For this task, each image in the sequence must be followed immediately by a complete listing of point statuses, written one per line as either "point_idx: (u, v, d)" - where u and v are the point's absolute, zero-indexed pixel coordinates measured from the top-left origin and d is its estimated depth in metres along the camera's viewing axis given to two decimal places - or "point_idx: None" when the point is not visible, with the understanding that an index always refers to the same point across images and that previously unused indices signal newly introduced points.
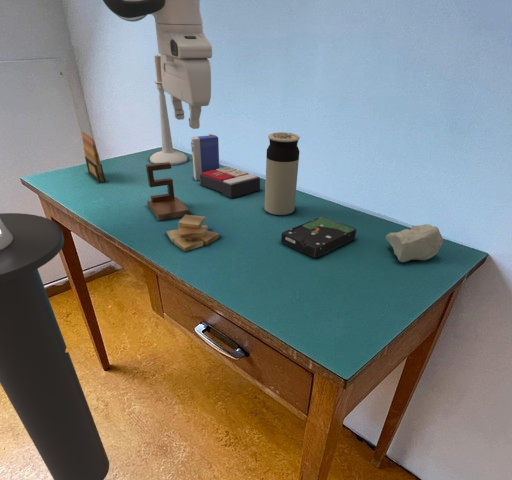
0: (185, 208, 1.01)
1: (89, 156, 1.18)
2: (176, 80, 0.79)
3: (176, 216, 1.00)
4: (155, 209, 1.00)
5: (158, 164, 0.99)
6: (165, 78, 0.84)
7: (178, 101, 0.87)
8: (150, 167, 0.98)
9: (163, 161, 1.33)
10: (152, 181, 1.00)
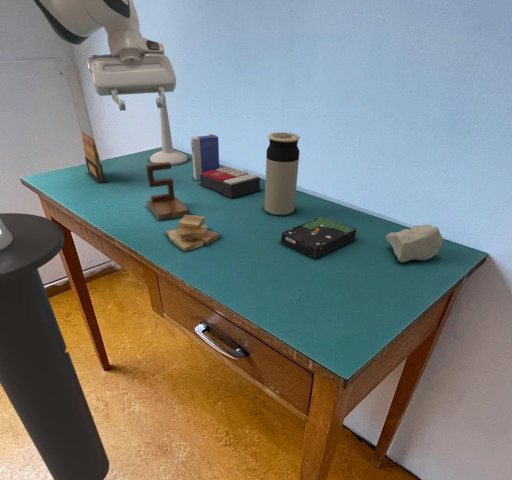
0: (185, 208, 1.01)
1: (89, 156, 1.18)
2: (138, 72, 0.99)
3: (176, 216, 1.00)
4: (155, 209, 1.00)
5: (158, 164, 0.99)
6: (107, 74, 0.97)
7: None
8: (150, 167, 0.98)
9: (163, 161, 1.33)
10: (152, 181, 1.00)
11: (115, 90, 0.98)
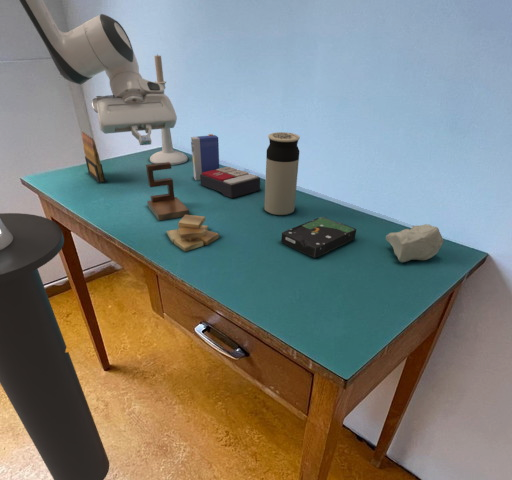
0: (185, 208, 1.01)
1: (89, 156, 1.18)
2: (141, 110, 1.04)
3: (176, 216, 1.00)
4: (155, 209, 1.00)
5: (158, 164, 0.99)
6: (112, 114, 1.01)
7: None
8: (150, 167, 0.98)
9: (163, 161, 1.33)
10: (152, 181, 1.00)
11: (136, 127, 1.03)
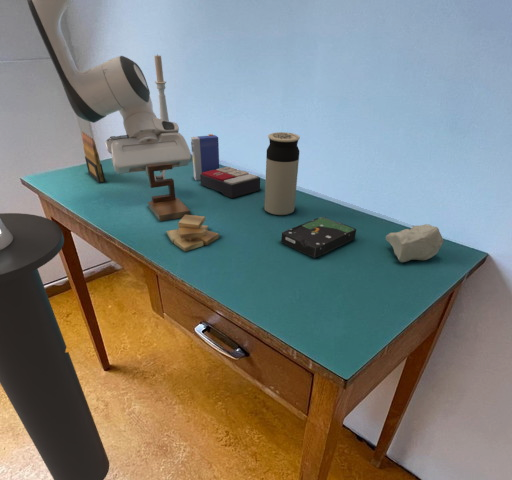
0: (186, 209, 1.01)
1: (89, 156, 1.18)
2: (155, 150, 1.02)
3: (177, 217, 0.99)
4: (156, 210, 1.00)
5: (159, 164, 0.99)
6: (127, 155, 0.99)
7: None
8: (151, 167, 0.98)
9: None
10: (153, 181, 1.00)
11: None
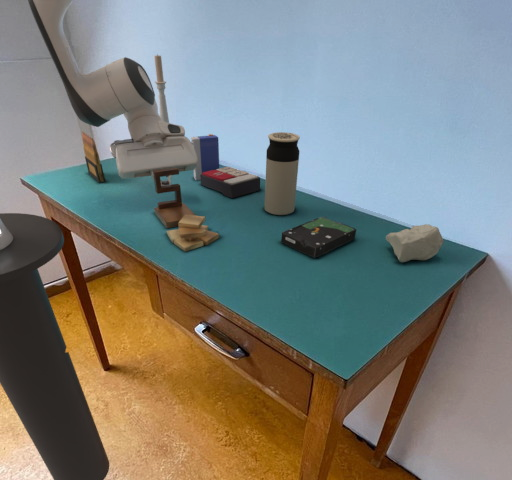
0: None
1: (89, 156, 1.18)
2: (161, 154, 0.99)
3: None
4: (163, 216, 0.96)
5: (165, 170, 0.96)
6: (132, 159, 0.96)
7: None
8: (157, 173, 0.95)
9: None
10: (159, 187, 0.97)
11: None
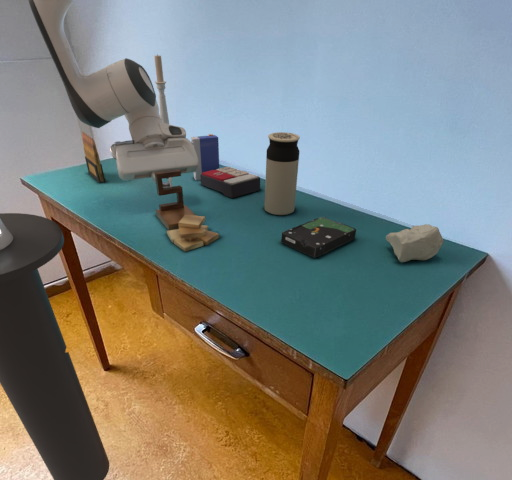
0: None
1: (89, 156, 1.18)
2: (162, 156, 0.98)
3: None
4: (164, 218, 0.95)
5: (167, 171, 0.95)
6: (132, 161, 0.95)
7: None
8: (159, 175, 0.94)
9: None
10: (161, 189, 0.96)
11: None
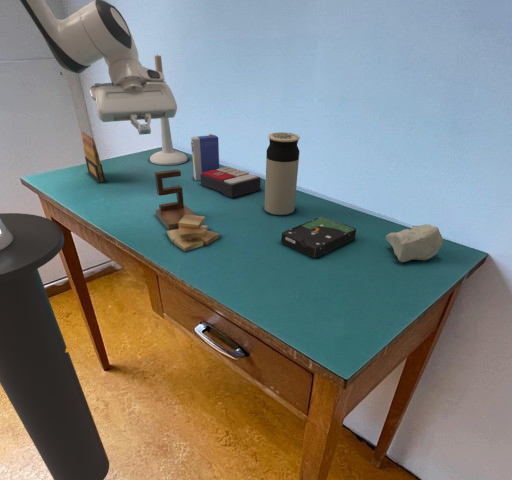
0: None
1: (89, 156, 1.18)
2: (140, 99, 1.01)
3: None
4: (164, 218, 0.95)
5: (167, 171, 0.95)
6: (111, 101, 0.98)
7: None
8: (159, 175, 0.94)
9: (163, 161, 1.33)
10: (161, 189, 0.96)
11: (135, 115, 1.01)
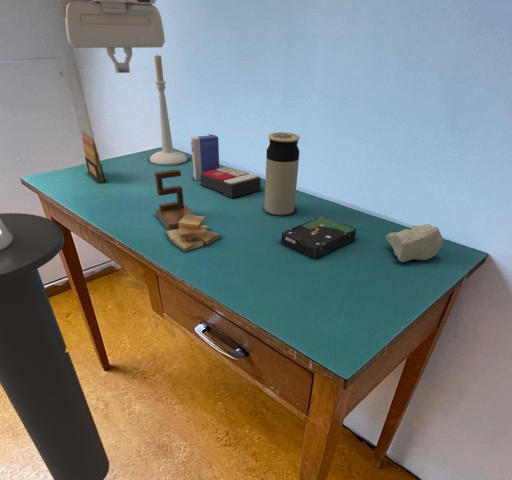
0: None
1: (89, 156, 1.18)
2: (122, 28, 0.84)
3: None
4: (164, 218, 0.95)
5: (167, 171, 0.95)
6: (86, 30, 0.81)
7: None
8: (159, 175, 0.94)
9: (163, 161, 1.33)
10: (161, 189, 0.96)
11: (113, 50, 0.86)
